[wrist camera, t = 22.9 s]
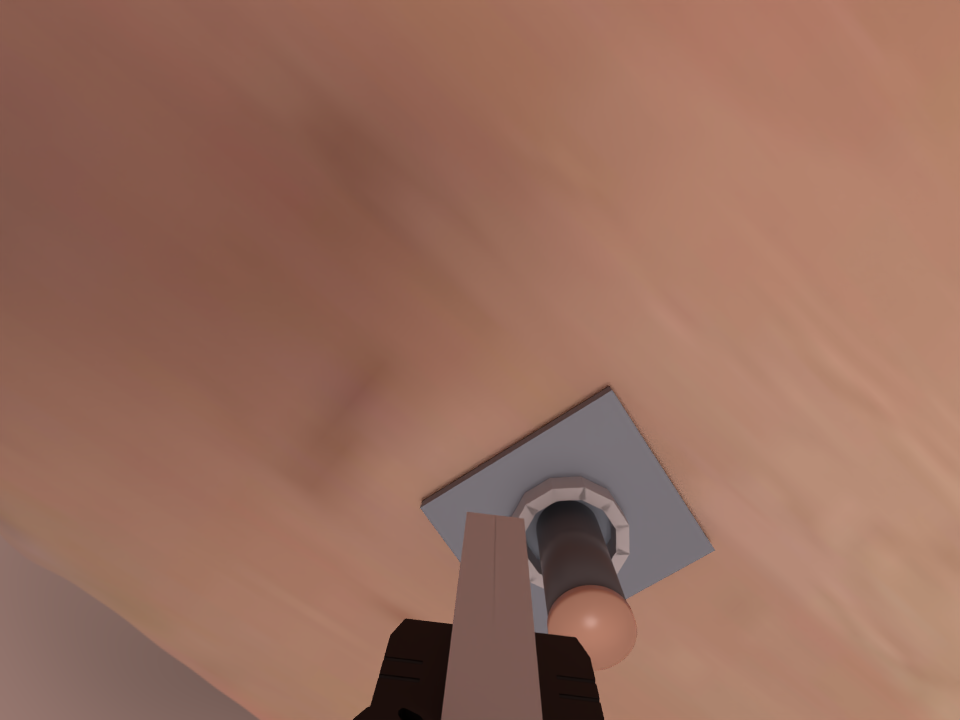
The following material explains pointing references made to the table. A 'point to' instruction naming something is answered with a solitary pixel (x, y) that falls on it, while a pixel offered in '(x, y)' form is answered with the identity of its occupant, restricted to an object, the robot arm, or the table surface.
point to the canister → (583, 584)
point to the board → (599, 461)
